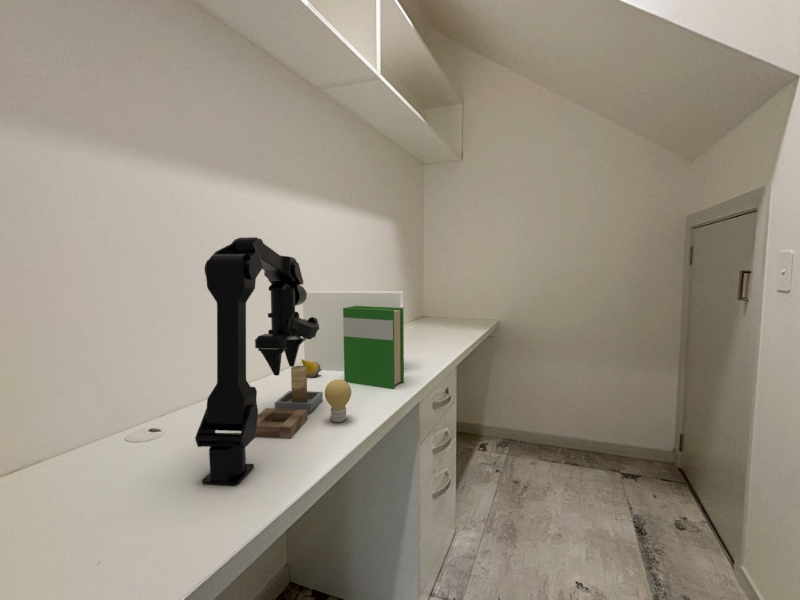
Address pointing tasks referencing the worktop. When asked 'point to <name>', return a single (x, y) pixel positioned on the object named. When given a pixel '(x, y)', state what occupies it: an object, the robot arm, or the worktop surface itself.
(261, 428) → the square wooden frame
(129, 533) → the worktop surface
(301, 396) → the dowel
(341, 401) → the light bulb
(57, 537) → the worktop surface
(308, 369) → the ice cream cone
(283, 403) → the tray
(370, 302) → the white flat rectangular panel
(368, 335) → the hardback book
